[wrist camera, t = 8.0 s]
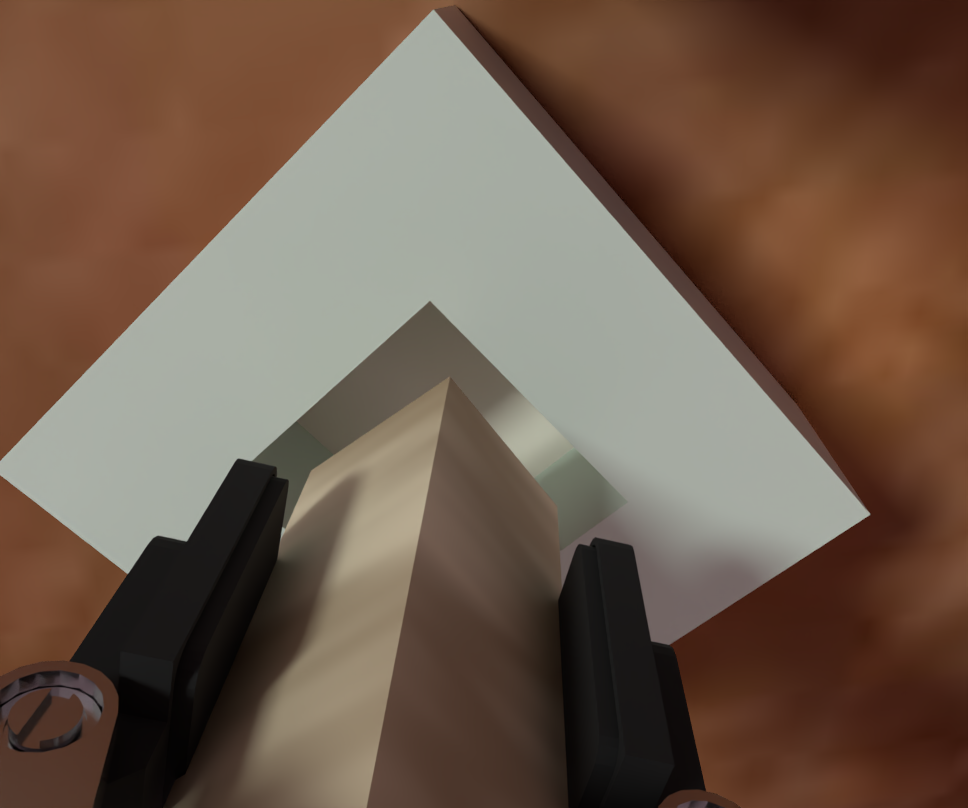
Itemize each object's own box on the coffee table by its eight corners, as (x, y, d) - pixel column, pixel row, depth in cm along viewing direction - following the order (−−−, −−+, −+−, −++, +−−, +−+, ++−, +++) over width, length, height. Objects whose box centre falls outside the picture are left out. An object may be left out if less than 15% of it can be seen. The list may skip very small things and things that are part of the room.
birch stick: (557, 506, 15) (592, 1120, 7) (421, 587, 16) (311, 1217, 8) (450, 375, 14) (345, 914, 6) (311, 470, 15) (56, 1051, 7)
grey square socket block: (441, 659, 23) (423, 803, 19) (101, 370, 20) (-8, 469, 16) (797, 404, 19) (870, 514, 15) (455, 4, 16) (432, 9, 12)
